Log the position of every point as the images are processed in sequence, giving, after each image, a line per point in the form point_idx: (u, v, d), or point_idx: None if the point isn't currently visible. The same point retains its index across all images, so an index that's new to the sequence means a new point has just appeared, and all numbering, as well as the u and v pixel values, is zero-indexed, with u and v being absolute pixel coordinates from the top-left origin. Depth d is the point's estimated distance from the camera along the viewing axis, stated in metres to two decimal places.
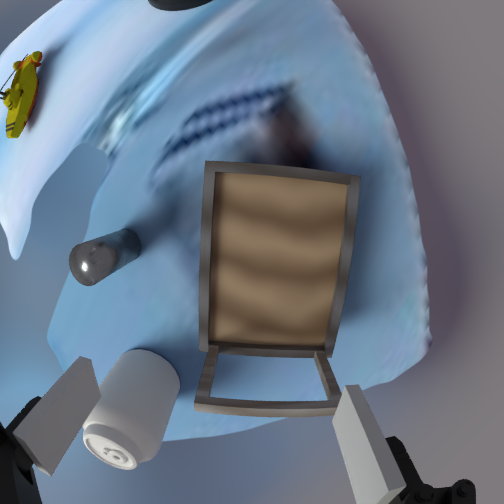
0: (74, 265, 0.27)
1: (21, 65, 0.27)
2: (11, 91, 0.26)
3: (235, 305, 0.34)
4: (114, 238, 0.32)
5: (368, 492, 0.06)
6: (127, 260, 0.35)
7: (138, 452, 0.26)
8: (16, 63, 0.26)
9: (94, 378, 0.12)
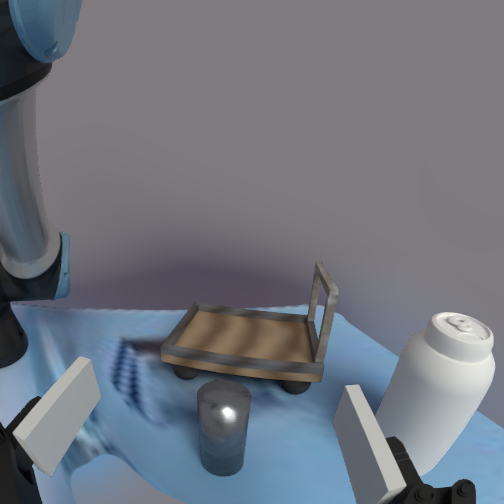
0: (222, 407, 0.21)
1: None
2: None
3: (277, 355, 0.41)
4: None
5: (368, 492, 0.06)
6: None
7: None
8: None
9: (94, 378, 0.12)
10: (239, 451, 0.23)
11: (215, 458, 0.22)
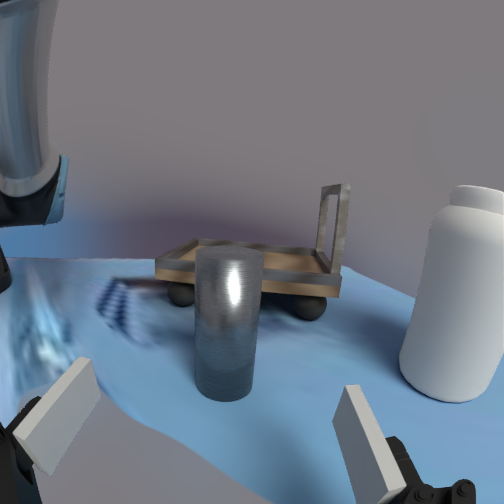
0: (228, 257, 0.18)
1: None
2: None
3: None
4: None
5: (368, 492, 0.06)
6: None
7: None
8: None
9: (94, 378, 0.12)
10: (248, 350, 0.20)
11: (214, 362, 0.19)
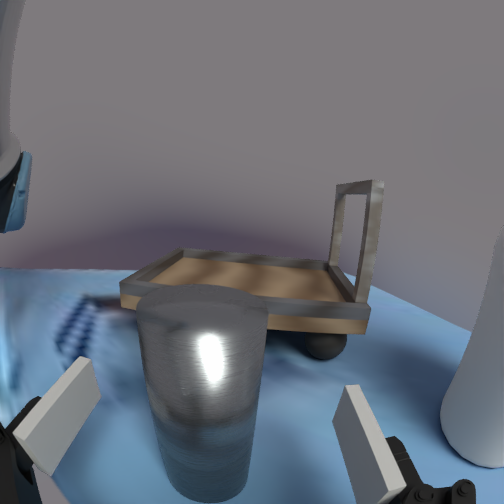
0: (194, 326, 0.08)
1: None
2: None
3: (295, 298, 0.28)
4: None
5: (368, 492, 0.06)
6: None
7: None
8: None
9: (94, 378, 0.12)
10: (241, 455, 0.10)
11: (186, 470, 0.09)
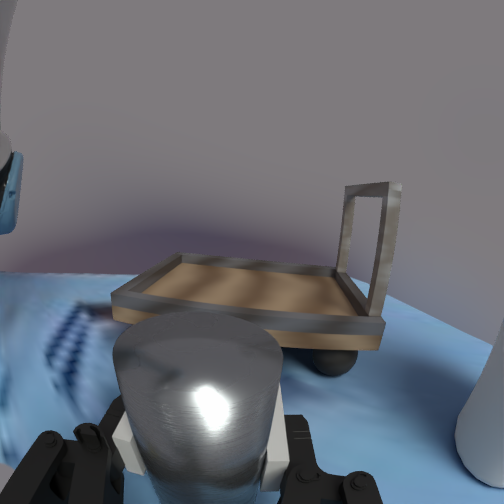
0: (187, 382, 0.06)
1: None
2: None
3: (302, 310, 0.25)
4: None
5: None
6: None
7: None
8: None
9: None
10: (246, 501, 0.07)
11: None
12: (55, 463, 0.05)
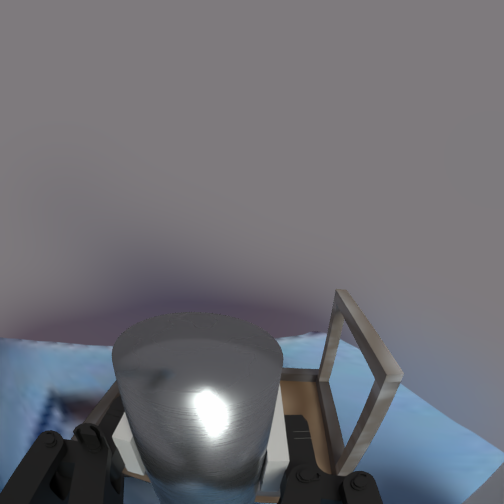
0: (186, 383, 0.06)
1: None
2: None
3: None
4: None
5: None
6: None
7: None
8: None
9: None
10: (245, 502, 0.07)
11: None
12: (55, 463, 0.05)
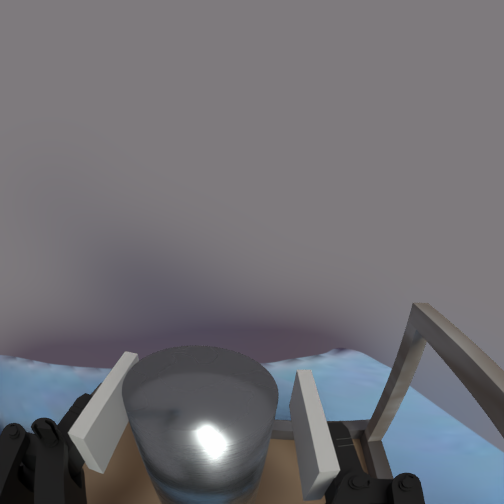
0: (191, 422, 0.06)
1: None
2: None
3: None
4: None
5: (307, 474, 0.08)
6: None
7: None
8: None
9: None
10: None
11: None
12: (20, 454, 0.05)
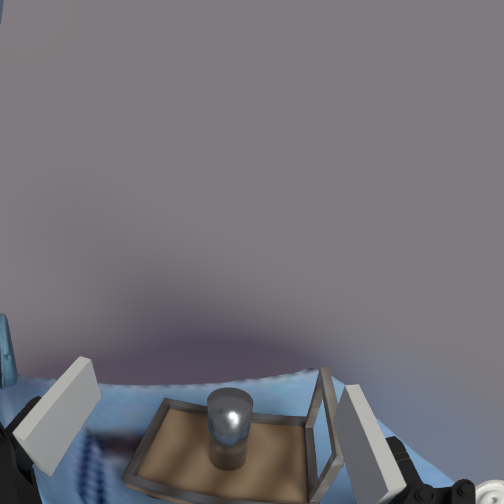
0: (229, 411, 0.25)
1: None
2: None
3: (263, 486, 0.25)
4: None
5: (368, 492, 0.06)
6: None
7: None
8: None
9: (94, 378, 0.12)
10: (243, 448, 0.27)
11: (222, 455, 0.26)
12: None
